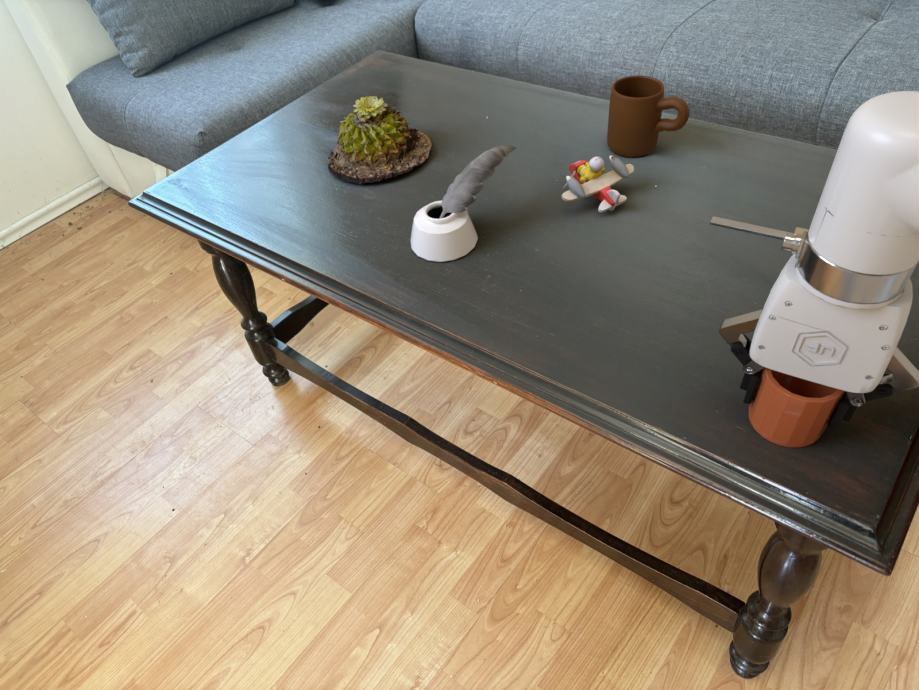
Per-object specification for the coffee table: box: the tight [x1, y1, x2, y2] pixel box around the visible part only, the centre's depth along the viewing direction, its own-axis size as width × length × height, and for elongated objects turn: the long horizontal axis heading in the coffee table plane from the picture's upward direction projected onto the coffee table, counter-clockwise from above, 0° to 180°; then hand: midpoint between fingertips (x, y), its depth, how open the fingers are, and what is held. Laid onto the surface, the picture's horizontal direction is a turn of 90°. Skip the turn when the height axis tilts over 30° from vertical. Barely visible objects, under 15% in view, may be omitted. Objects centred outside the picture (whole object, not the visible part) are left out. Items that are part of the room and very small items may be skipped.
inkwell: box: [410, 144, 517, 263], centre depth 87 cm, size 9×18×10 cm, turn 131°
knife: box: [709, 215, 809, 241], centre depth 83 cm, size 17×2×1 cm, turn 61°
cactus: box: [327, 95, 433, 185], centre depth 102 cm, size 17×16×10 cm
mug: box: [606, 74, 690, 158], centre depth 96 cm, size 12×8×9 cm, turn 50°
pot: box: [747, 367, 845, 449], centre depth 62 cm, size 7×7×7 cm
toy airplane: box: [560, 155, 635, 214], centre depth 89 cm, size 9×9×6 cm
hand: (791, 405), depth 63 cm, fingers closed on pot, 6 cm apart
